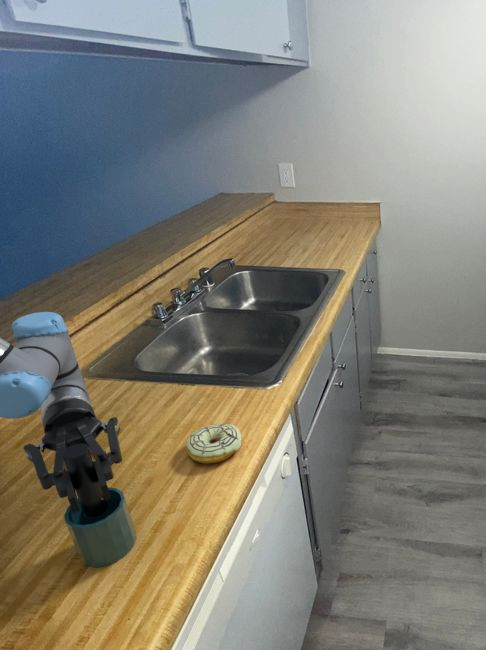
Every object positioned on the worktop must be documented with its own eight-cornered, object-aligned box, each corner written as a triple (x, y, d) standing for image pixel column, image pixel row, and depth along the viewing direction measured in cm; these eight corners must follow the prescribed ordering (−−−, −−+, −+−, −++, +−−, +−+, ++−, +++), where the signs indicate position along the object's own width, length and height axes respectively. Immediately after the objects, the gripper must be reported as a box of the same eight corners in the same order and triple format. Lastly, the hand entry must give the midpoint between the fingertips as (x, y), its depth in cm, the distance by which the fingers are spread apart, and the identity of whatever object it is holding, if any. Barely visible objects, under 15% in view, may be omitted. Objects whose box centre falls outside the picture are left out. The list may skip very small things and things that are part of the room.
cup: (77, 541, 78) (61, 502, 74) (130, 518, 83) (118, 480, 79) (84, 576, 73) (68, 536, 69) (141, 549, 77) (129, 510, 73)
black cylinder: (83, 508, 74) (60, 449, 69) (106, 498, 76) (86, 440, 71) (86, 521, 72) (63, 461, 67) (110, 511, 74) (89, 452, 68)
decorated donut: (251, 452, 99) (249, 438, 97) (199, 475, 93) (196, 460, 91) (230, 427, 106) (228, 413, 104) (181, 447, 99) (178, 433, 98)
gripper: (125, 417, 90) (157, 492, 74) (18, 451, 80) (28, 546, 64) (115, 384, 86) (147, 455, 70) (3, 416, 77) (9, 506, 61)
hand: (90, 498), depth 67 cm, fingers closed on black cylinder, 3 cm apart
